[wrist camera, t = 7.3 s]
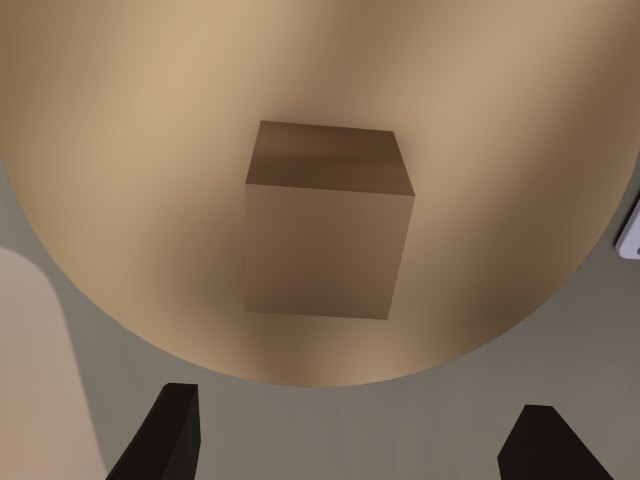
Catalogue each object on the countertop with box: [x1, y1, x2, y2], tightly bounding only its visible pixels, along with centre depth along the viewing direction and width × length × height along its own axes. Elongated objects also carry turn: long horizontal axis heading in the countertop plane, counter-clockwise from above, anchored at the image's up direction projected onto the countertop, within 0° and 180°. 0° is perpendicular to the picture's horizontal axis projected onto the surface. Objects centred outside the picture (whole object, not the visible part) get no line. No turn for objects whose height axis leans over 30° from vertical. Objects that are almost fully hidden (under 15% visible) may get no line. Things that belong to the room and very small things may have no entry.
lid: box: [0, 0, 640, 387], centre depth 11 cm, size 15×15×4 cm
